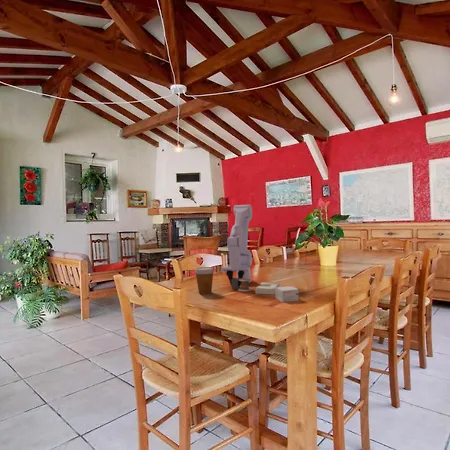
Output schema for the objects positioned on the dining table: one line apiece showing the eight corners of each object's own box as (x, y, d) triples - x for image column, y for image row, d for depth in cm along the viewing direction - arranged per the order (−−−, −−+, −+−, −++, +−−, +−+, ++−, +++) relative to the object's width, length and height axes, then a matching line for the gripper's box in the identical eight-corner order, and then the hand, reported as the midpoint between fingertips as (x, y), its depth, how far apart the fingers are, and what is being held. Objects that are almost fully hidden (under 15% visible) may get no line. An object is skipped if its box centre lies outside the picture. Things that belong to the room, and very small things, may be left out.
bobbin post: (240, 288, 171) (239, 277, 171) (253, 288, 168) (253, 277, 168) (236, 291, 164) (236, 280, 164) (250, 291, 162) (249, 280, 162)
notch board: (262, 286, 173) (262, 282, 172) (279, 287, 170) (279, 282, 170) (255, 293, 157) (255, 288, 157) (274, 294, 154) (274, 289, 154)
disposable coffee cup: (217, 290, 167) (216, 267, 166) (211, 295, 157) (210, 270, 157) (199, 290, 169) (198, 267, 169) (192, 294, 160) (191, 269, 160)
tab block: (233, 287, 174) (233, 277, 174) (240, 287, 173) (239, 277, 173) (231, 288, 171) (231, 279, 170) (238, 289, 169) (237, 279, 169)
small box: (282, 302, 140) (282, 290, 140) (275, 298, 147) (274, 287, 147) (299, 300, 142) (298, 288, 142) (291, 296, 149) (290, 285, 149)
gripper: (219, 260, 170) (220, 286, 170) (246, 260, 166) (247, 287, 166) (223, 258, 177) (224, 283, 177) (249, 258, 172) (250, 284, 172)
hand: (235, 285), depth 172 cm, fingers open, 4 cm apart
